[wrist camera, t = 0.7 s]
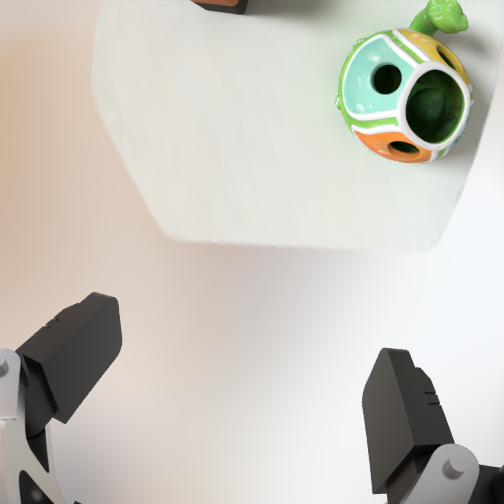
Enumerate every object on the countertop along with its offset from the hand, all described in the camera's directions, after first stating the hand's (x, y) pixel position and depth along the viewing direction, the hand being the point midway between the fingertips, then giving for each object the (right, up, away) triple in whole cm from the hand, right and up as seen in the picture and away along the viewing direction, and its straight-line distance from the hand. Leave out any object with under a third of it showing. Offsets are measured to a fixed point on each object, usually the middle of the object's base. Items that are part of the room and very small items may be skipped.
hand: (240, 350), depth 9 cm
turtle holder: (+15, +21, +19) cm, 32 cm away
